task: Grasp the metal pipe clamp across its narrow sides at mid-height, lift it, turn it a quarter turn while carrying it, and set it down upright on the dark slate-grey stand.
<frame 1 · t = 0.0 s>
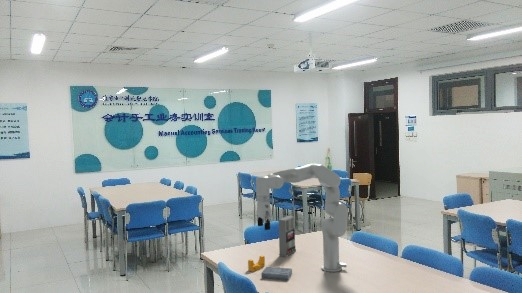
hand: (263, 227, 232), 31 cm above the table, tool pointing down, fingers open, 9 cm apart
cassette tape recorder: (287, 253, 284), on the table
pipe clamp: (257, 268, 255), on the table
slate stand: (277, 275, 241), on the table
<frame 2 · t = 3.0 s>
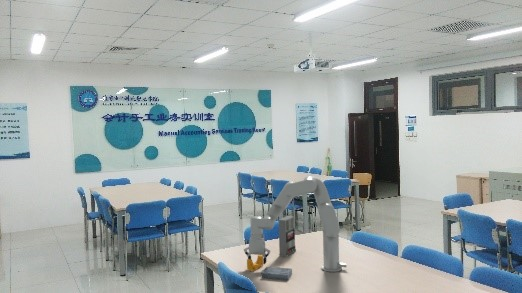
hand: (257, 263, 255), 3 cm above the table, tool pointing down, fingers open, 9 cm apart
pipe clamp: (256, 268, 256), on the table, touching gripper
everything else where it was.
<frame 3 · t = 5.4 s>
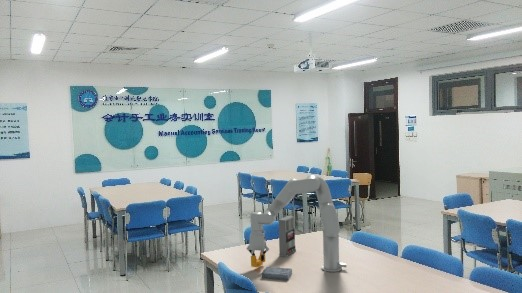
hand: (258, 260, 255), 5 cm above the table, tool pointing down, fingers closed on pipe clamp, 4 cm apart
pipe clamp: (259, 264, 256), point 2 cm above the table, touching gripper
everything else where it was.
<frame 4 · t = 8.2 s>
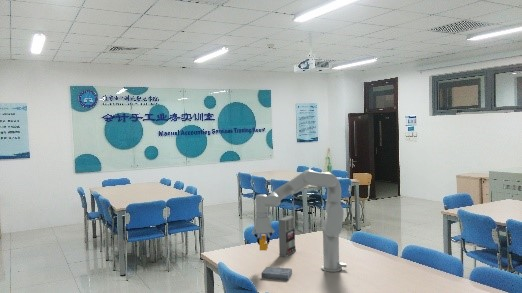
hand: (263, 243, 250), 17 cm above the table, tool pointing down, fingers closed on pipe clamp, 4 cm apart
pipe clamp: (264, 247, 251), point 14 cm above the table, touching gripper
everything else where it was.
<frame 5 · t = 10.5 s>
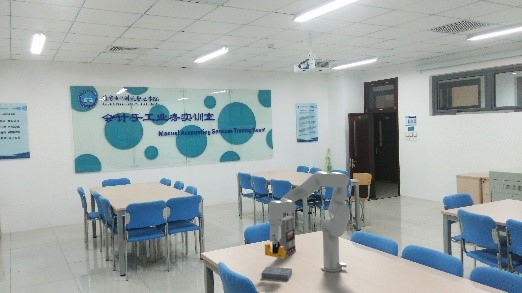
hand: (276, 251, 241), 15 cm above the table, tool pointing down, fingers closed on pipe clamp, 4 cm apart
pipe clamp: (275, 256, 242), point 12 cm above the table, touching gripper
everything else where it was.
when the fingers open (6 cm above the table, at t = 12.7 s): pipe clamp stays where it is, resting on slate stand.
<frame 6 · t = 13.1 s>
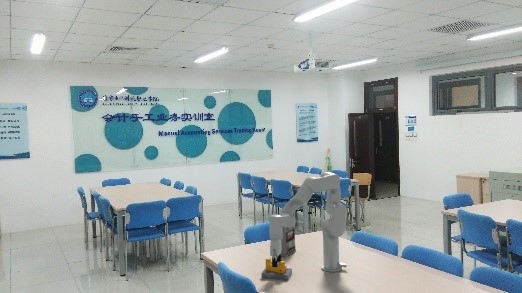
hand: (276, 264, 241), 7 cm above the table, tool pointing down, fingers open, 9 cm apart
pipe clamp: (276, 270, 242), point 3 cm above the table, touching slate stand
everything else where it was.
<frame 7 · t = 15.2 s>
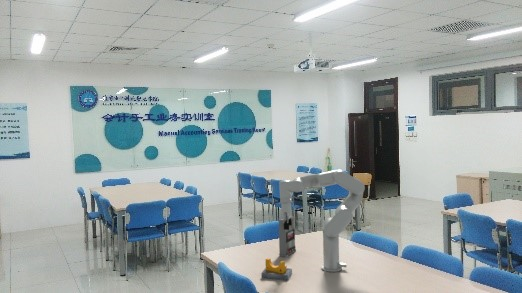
hand: (287, 227, 252), 26 cm above the table, tool pointing down, fingers open, 9 cm apart
nothing on the table moved.
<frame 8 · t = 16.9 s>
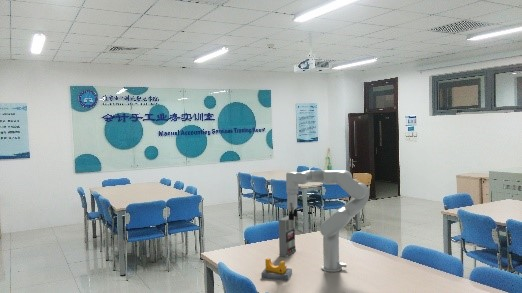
hand: (293, 218, 258), 30 cm above the table, tool pointing down, fingers open, 9 cm apart
nothing on the table moved.
at the end: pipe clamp inside the target area on the slate stand (0.7 cm from its centre), point 2.8 cm above the slate stand's base; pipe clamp tilted 0°; the gripper is holding nothing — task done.
